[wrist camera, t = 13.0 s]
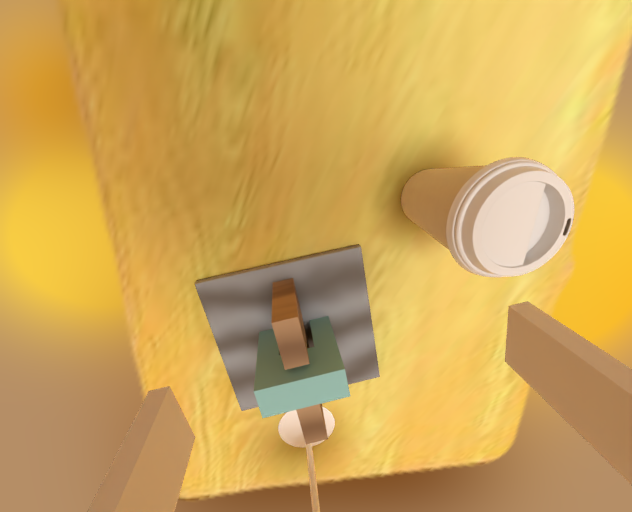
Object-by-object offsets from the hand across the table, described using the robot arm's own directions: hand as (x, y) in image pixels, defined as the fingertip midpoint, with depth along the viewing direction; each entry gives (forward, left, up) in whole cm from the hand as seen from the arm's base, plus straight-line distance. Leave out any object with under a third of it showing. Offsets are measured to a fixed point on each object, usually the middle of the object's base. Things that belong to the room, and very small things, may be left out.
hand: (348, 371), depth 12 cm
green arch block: (+14, -3, -24) cm, 28 cm away
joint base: (+14, -3, -25) cm, 29 cm away
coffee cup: (0, +16, -25) cm, 30 cm away
